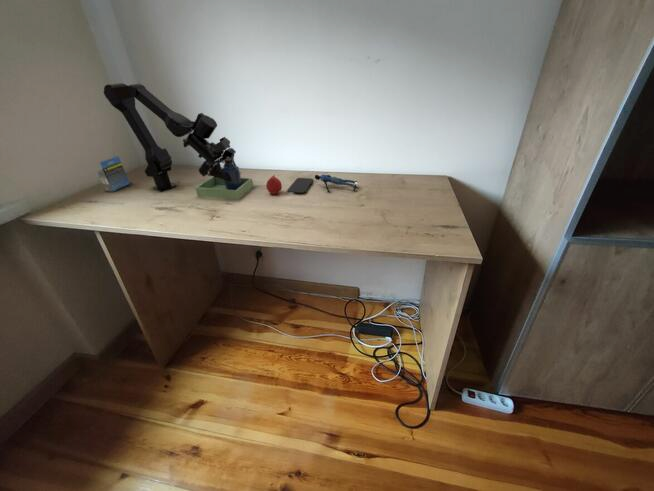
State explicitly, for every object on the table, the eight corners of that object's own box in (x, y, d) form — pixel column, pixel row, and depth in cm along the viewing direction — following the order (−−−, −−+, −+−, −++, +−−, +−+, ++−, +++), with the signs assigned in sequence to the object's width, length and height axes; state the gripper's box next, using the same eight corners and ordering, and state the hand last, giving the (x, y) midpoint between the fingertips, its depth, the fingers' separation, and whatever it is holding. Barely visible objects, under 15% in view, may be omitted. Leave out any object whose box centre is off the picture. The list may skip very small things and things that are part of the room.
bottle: (223, 192, 117) (216, 160, 110) (236, 187, 121) (230, 156, 114) (234, 196, 114) (227, 162, 107) (246, 191, 118) (240, 158, 111)
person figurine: (358, 188, 124) (317, 179, 126) (360, 177, 121) (318, 169, 124) (354, 198, 115) (310, 188, 117) (356, 187, 112) (311, 178, 115)
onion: (279, 198, 113) (277, 178, 108) (265, 197, 114) (262, 177, 109) (284, 192, 117) (282, 173, 113) (270, 191, 118) (268, 172, 114)
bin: (197, 197, 115) (195, 187, 113) (216, 185, 126) (214, 175, 123) (238, 201, 111) (236, 190, 109) (253, 188, 122) (251, 178, 120)
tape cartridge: (123, 183, 130) (111, 155, 123) (130, 184, 129) (119, 155, 122) (105, 191, 122) (92, 161, 116) (113, 192, 122) (99, 162, 115)
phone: (286, 191, 116) (297, 177, 128) (286, 193, 117) (297, 179, 129) (304, 192, 115) (313, 178, 127) (304, 194, 115) (314, 180, 127)
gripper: (197, 137, 98) (234, 172, 102) (226, 126, 113) (257, 156, 117) (183, 160, 104) (218, 191, 108) (212, 146, 119) (242, 174, 123)
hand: (235, 177), depth 114 cm, fingers open, 7 cm apart
